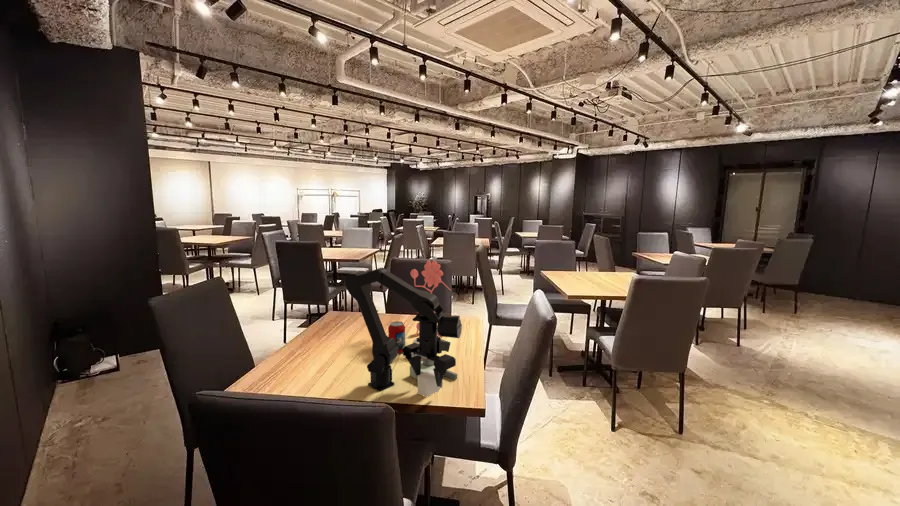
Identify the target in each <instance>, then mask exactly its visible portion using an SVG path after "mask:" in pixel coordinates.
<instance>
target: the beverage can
mask: <svg viewBox="0 0 900 506" xmlns="http://www.w3.org/2000/svg"><path fill="white" fill-rule="evenodd" d="M387 336H388V337H389V338H390V339H392V338H394V339H395V342H396V345H397V347H398V348H399V349H398V355H400V354H403V348H404V347H405V346H406V326H405V324H404V322H403V321H398V320H397V321H393V322H390V324H389V325H388V335H387Z"/></svg>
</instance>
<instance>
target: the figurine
mask: <svg viewBox="0 0 900 506" xmlns="http://www.w3.org/2000/svg"><path fill="white" fill-rule="evenodd" d="M423 267H424V268H423V269H424V270H422V271H421V275H422V277H424V279H423V280H424V285H416V284H417V283H416V278H418V277H419V271H418V270H417V269H416V268H414V269H411V271H410V276H411V278H412V279H414V281H413V282H414V288H416V287H419V288H423V289H425V290H426V291H427V292H429V293H431V294H433V291H434V290H435V289H436V288H437V287H438V286H439V284H441V283H442V284H443V285H444V287H446V288H447V289H448V290H449V291H451V292H452V289H451V288H449V286H448V285H446V283H445V282H444V281H442V278H441V277H442V276H444V272H443V271H442V270H441V269H440V268H441V264H439V263H437V260H433V261H432V262H431V260H430V259H427V260H426V264H424V266H423ZM426 285H427V287H426ZM432 286H433V287H432ZM431 287H432V289H429V288H431ZM416 313H417V314H418V312H417V311H416ZM415 327H416V333H415V335H414V336H415V337H417V335H418V333H419V322H417V323H416V326H415ZM437 336H439V337H440V338H441V339H442V338H443V337H442V336H440V335H439V334H438V331H437Z"/></svg>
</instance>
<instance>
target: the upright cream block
mask: <svg viewBox="0 0 900 506" xmlns="http://www.w3.org/2000/svg"><path fill="white" fill-rule="evenodd" d="M439 390H441V388H440V386H439V387H438V386H437V384H436V380H435V375H434V371H433V370H429V371H427V372H425V373H422V374H420V375H418V379H417V394H418V393H419V394H418V395H420V394H421V396H422V395H424V396H426V397H427V396H429V395H431V394H433V393H434V394H436V393H438V392H439ZM435 392H436V393H435ZM434 394H433V395H434ZM424 396H423V397H424ZM431 396H432V395H431ZM426 397H425V398H426ZM429 397H430V396H429ZM427 398H428V397H427Z"/></svg>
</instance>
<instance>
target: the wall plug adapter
mask: <svg viewBox="0 0 900 506" xmlns="http://www.w3.org/2000/svg"><path fill="white" fill-rule="evenodd" d="M434 368H435V367H434V361H432V360H429V359H426V358H424V357H422V360H421V374H422V373H425V372H427V371H429V370H433V369H434ZM433 371H434V370H433ZM409 376H410V377H412V378H414V379H416V380H418V377H417V376H416V374H415V372H414V370H413V368H412V367H411V365H410V366H409ZM444 377H447V378H448V379H451V380H453V379H454V381H456V379H457V380H458V373H456V372H453V371H451V370H449V369H448V370H447V371H446V373H445V375H444ZM441 388H443V382H442V383H441V385H440V389H441Z"/></svg>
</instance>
